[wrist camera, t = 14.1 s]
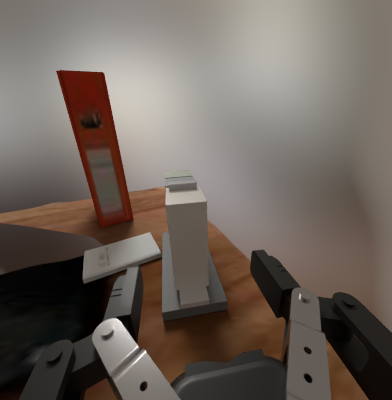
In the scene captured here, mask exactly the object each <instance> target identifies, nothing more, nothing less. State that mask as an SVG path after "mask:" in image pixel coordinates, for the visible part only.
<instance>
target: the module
mask: <svg viewBox="0 0 392 400" xmlns="http://www.w3.org/2000/svg"><path fill="white" fill-rule="evenodd" d="M168 185H169V188H166V213H167V222H168V230H169V239H170V248H171V257H172V265H173V274H174V283H175V290H182V289H189V288H196V287H202V286H209V272H208V231H207V201H206V199H205V197H204V195H203V193H202V191H201V189H200V187H199V185H197V182H196V180H191V181H178V182H168Z"/></svg>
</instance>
